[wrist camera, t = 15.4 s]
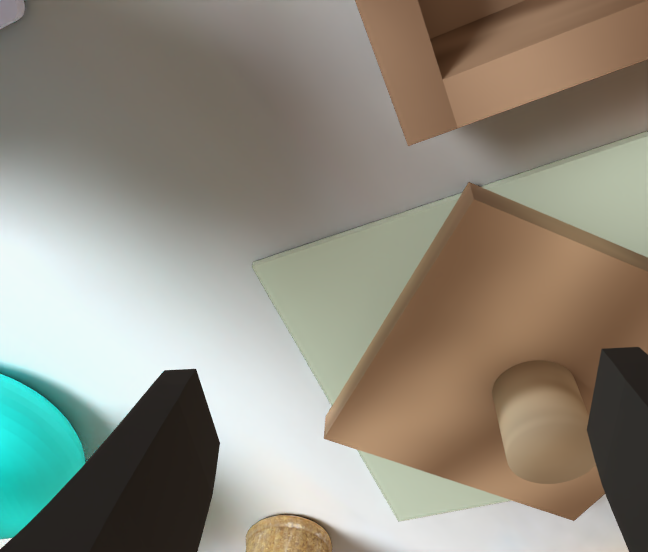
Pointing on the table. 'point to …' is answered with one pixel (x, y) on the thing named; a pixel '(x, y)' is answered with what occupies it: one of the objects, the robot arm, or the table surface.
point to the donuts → (32, 454)
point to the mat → (400, 263)
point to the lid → (498, 355)
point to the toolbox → (494, 53)
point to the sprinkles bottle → (287, 535)
